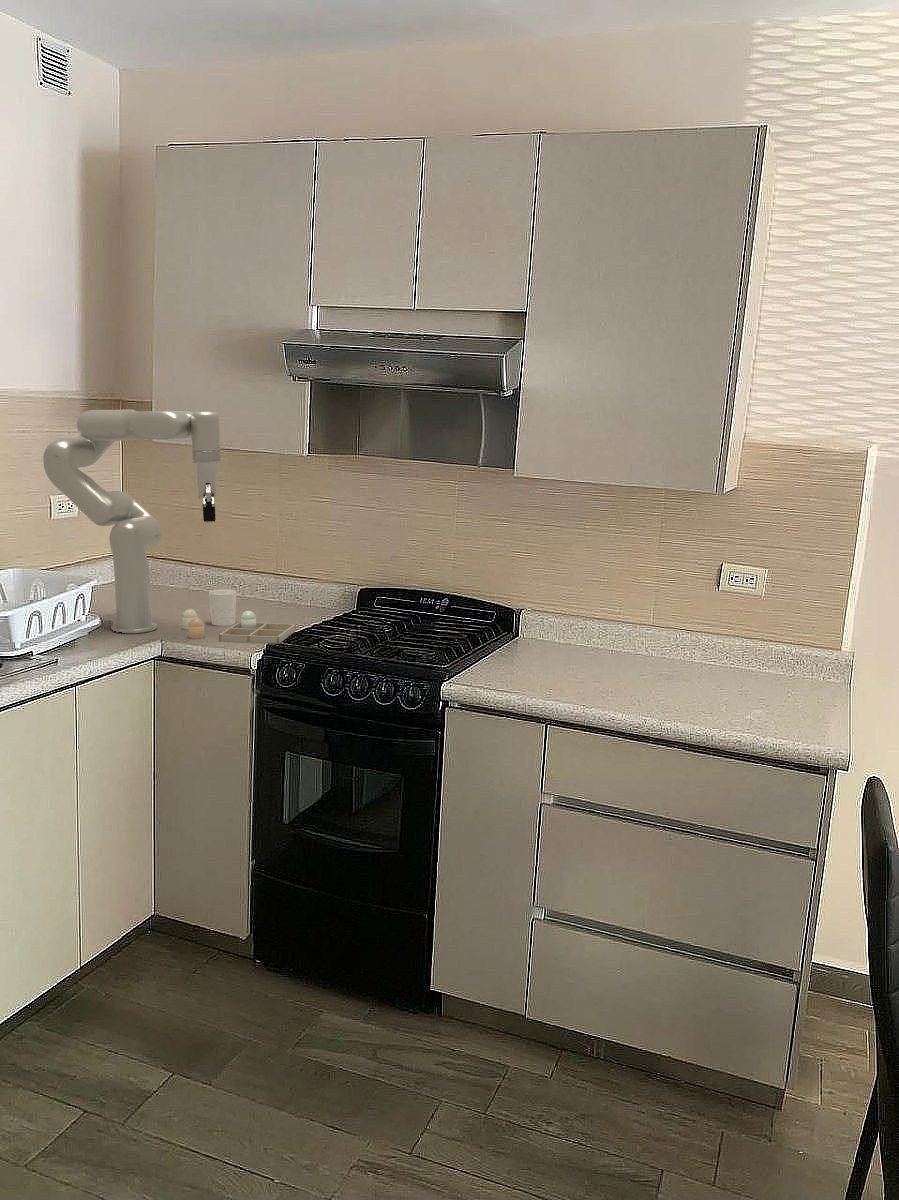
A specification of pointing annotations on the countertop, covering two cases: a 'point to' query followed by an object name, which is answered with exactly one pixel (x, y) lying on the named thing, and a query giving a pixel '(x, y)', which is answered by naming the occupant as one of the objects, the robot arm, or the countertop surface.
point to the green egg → (248, 620)
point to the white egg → (188, 617)
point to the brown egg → (196, 628)
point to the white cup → (222, 607)
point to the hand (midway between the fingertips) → (209, 519)
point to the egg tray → (258, 633)
